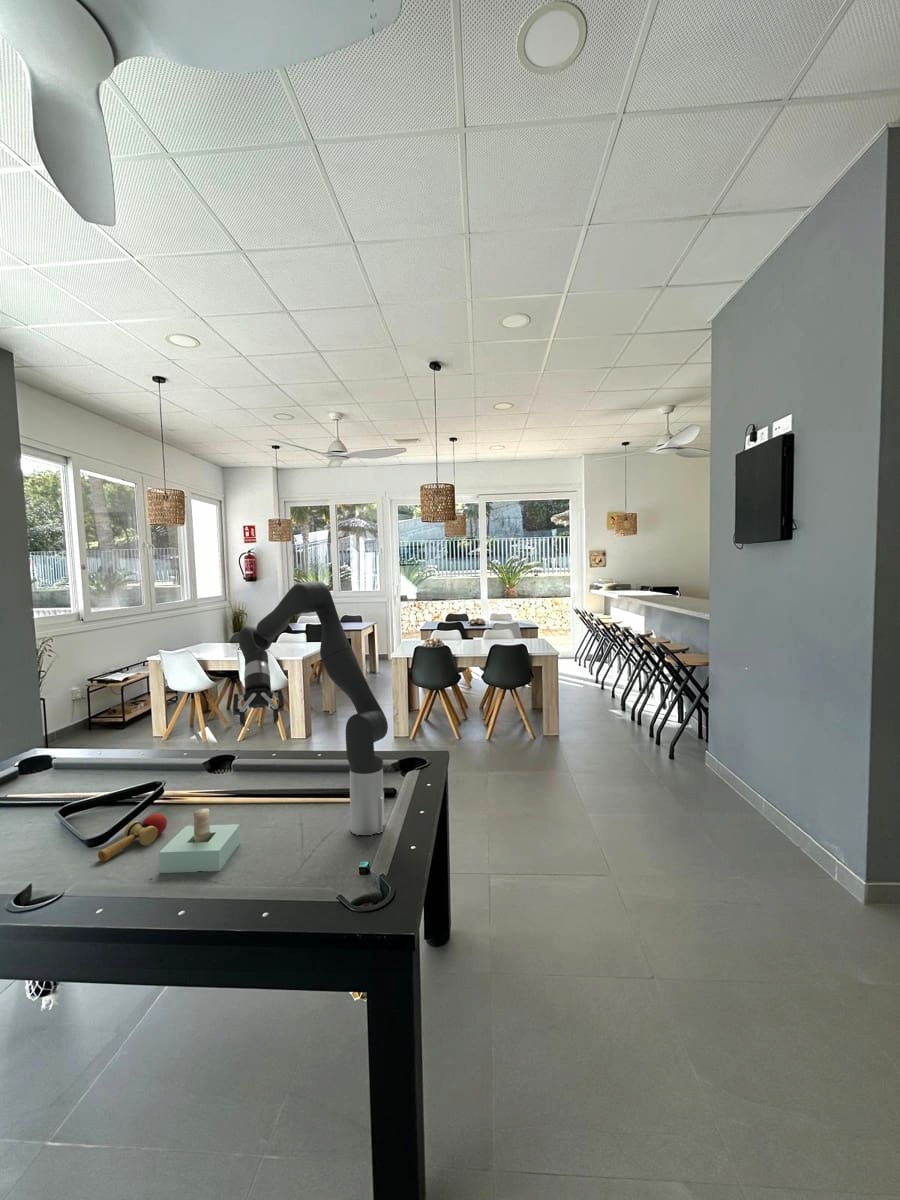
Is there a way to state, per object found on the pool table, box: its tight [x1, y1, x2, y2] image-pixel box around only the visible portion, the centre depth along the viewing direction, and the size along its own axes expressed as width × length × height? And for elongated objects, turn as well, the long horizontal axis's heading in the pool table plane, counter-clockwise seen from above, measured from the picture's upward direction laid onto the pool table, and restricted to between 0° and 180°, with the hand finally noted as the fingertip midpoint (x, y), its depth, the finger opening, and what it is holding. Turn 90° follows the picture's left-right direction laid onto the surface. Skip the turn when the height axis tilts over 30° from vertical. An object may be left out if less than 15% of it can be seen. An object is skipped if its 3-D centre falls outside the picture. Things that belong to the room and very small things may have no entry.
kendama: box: [97, 812, 168, 863], centre depth 137 cm, size 8×6×18 cm
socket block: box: [158, 824, 241, 874], centre depth 131 cm, size 14×14×5 cm
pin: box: [193, 808, 211, 843], centre depth 131 cm, size 4×4×10 cm
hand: (259, 723), depth 151 cm, fingers open, 8 cm apart
